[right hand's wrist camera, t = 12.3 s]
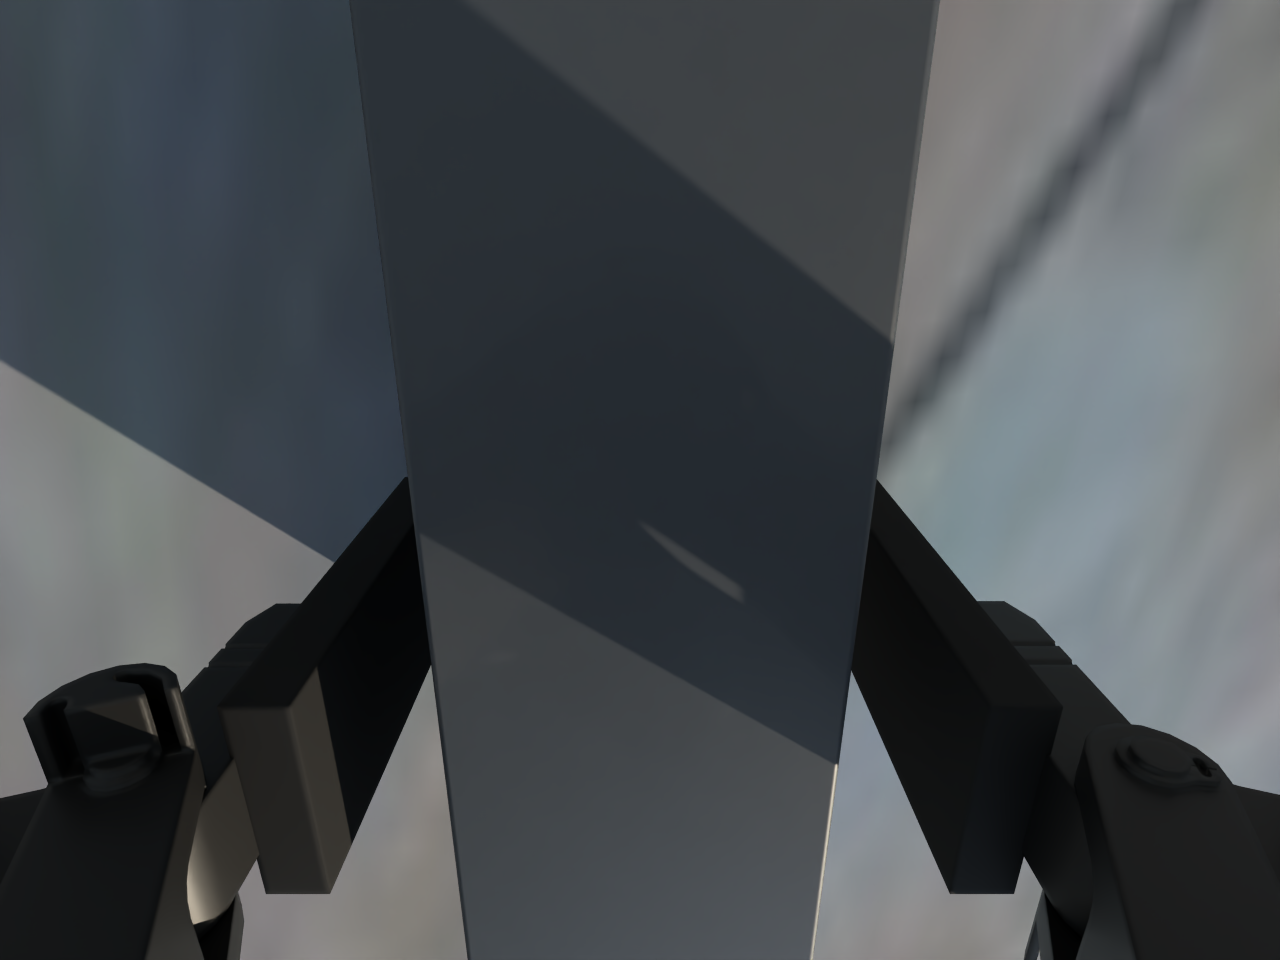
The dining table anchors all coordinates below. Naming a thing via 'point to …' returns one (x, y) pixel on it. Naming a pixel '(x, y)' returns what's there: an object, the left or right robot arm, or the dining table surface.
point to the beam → (642, 437)
